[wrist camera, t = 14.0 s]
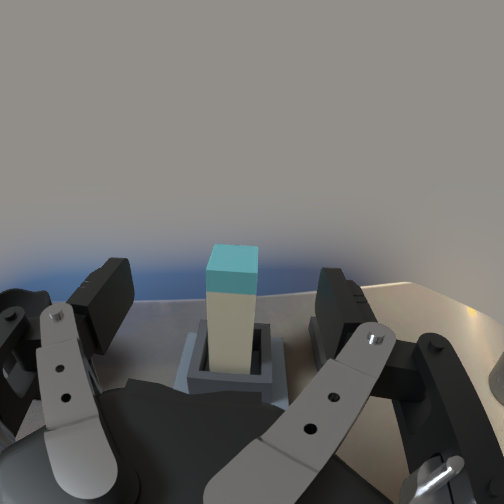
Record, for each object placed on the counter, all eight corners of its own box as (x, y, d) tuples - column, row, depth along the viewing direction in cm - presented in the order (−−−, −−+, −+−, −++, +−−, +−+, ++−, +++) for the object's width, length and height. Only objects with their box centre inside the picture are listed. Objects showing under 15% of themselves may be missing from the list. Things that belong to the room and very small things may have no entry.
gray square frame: (361, 327, 40) (364, 317, 39) (379, 372, 32) (384, 361, 31) (308, 327, 40) (310, 316, 39) (318, 375, 32) (321, 363, 31)
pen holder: (57, 339, 33) (36, 276, 28) (89, 379, 28) (62, 310, 24) (6, 368, 26) (-26, 304, 21) (28, 415, 21) (-14, 349, 17)
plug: (250, 356, 33) (258, 246, 27) (248, 388, 29) (257, 273, 23) (216, 353, 33) (214, 243, 27) (210, 385, 29) (205, 269, 23)
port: (281, 344, 37) (286, 316, 35) (288, 421, 26) (295, 395, 24) (188, 338, 37) (186, 310, 35) (169, 412, 26) (162, 386, 24)
